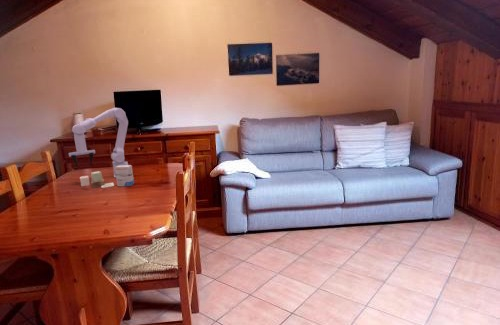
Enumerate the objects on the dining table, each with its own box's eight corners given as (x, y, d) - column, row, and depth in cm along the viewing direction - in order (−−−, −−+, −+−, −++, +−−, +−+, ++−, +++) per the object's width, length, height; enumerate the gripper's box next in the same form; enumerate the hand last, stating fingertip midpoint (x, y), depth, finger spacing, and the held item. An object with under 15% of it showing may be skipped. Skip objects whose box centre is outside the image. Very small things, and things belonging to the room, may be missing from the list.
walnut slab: (104, 183, 210) (103, 178, 209) (104, 185, 204) (104, 181, 203) (91, 185, 207) (91, 180, 207) (92, 188, 201) (91, 183, 200)
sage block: (99, 179, 208) (98, 171, 207) (102, 180, 205) (101, 172, 204) (92, 180, 205) (90, 172, 204) (94, 182, 202) (93, 174, 201)
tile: (113, 183, 209) (113, 182, 208) (114, 186, 202) (114, 185, 202) (101, 185, 206) (100, 184, 206) (101, 188, 200) (101, 187, 199)
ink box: (134, 183, 206) (132, 164, 203) (131, 186, 201) (128, 166, 198) (121, 183, 206) (118, 165, 204) (117, 186, 202) (114, 167, 199)
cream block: (89, 183, 211) (88, 175, 210) (89, 185, 207) (88, 177, 206) (81, 184, 210) (80, 176, 208) (81, 186, 206) (80, 178, 204)
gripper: (93, 142, 214) (97, 163, 218) (67, 145, 209) (71, 166, 212) (93, 143, 208) (97, 165, 211) (67, 146, 202) (71, 168, 206)
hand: (84, 166), depth 211 cm, fingers open, 7 cm apart
